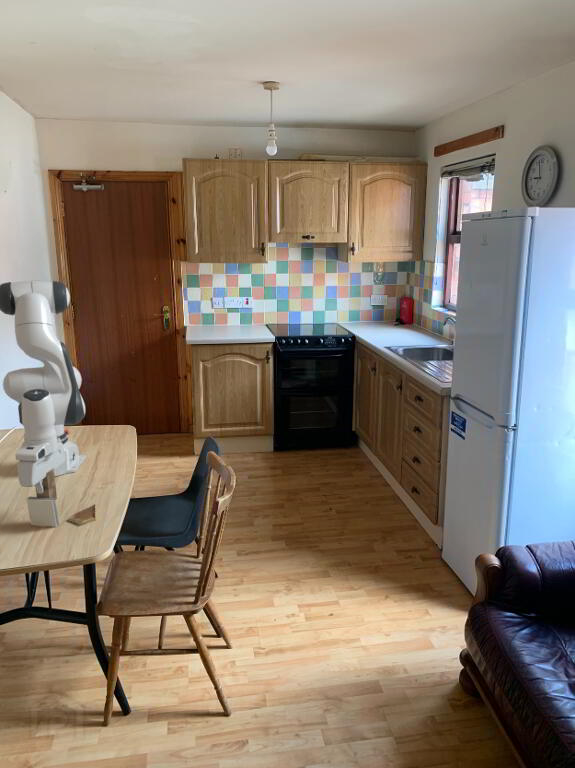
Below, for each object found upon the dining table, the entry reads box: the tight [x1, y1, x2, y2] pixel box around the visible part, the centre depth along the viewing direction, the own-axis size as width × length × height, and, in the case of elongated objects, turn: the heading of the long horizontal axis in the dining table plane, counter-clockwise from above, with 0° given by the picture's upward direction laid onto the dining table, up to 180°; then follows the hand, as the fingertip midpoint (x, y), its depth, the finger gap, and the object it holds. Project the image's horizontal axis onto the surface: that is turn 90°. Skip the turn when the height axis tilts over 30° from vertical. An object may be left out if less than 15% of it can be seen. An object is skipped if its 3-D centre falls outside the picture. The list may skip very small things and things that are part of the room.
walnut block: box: [35, 468, 58, 501], centre depth 175 cm, size 4×4×10 cm
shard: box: [67, 503, 97, 526], centre depth 181 cm, size 11×8×2 cm
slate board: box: [26, 496, 60, 528], centre depth 174 cm, size 2×8×9 cm, turn 83°
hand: (45, 488), depth 175 cm, fingers closed on walnut block, 4 cm apart
